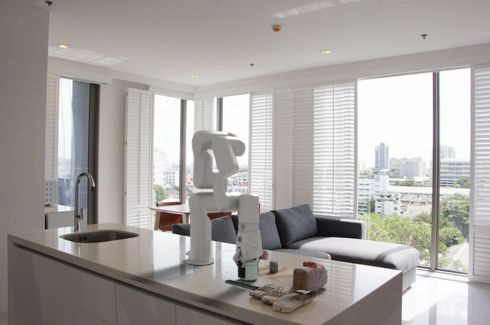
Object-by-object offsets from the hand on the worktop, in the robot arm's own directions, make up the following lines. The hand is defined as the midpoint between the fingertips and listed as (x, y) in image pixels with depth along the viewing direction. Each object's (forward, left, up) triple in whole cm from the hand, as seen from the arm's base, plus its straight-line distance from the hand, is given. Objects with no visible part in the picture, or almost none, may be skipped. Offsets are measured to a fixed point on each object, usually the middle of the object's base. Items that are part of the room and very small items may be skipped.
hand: (248, 275), depth 145 cm
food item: (+20, +10, -3) cm, 23 cm away
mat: (0, 0, -3) cm, 3 cm away
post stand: (0, +15, -3) cm, 16 cm away
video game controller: (-21, +31, -3) cm, 37 cm away
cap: (0, 0, -1) cm, 1 cm away
